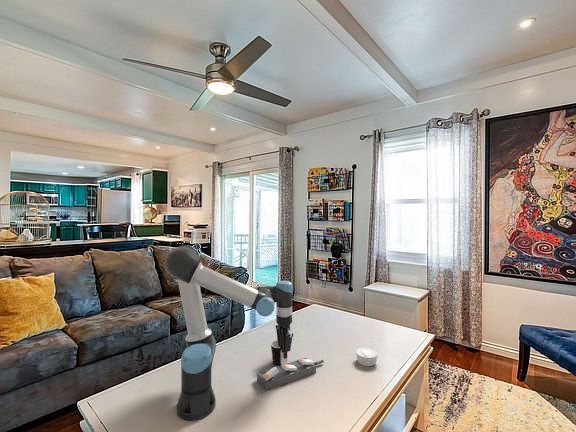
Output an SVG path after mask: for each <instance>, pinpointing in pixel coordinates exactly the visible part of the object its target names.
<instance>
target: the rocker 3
mask: <svg viewBox="0 0 576 432" xmlns="http://www.w3.org/2000/svg"><path fill="white" fill-rule="evenodd" d="M298 360H299V362H300V363H301V364H306V365H313V364H314V363H315V361H313V360H312V359H308V358H307V359H303V358H299V359H298Z"/></svg>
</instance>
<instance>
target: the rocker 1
mask: <svg viewBox="0 0 576 432" xmlns="http://www.w3.org/2000/svg"><path fill="white" fill-rule="evenodd" d="M276 367H277V366H274V367H272V368H270V369H271V370H269V371H268V372H266V373H265V374H263V378H264V379H265V380H266V381H267V380H268V379H270V378H271V377H273V376H274V375H276V374H277V373H279V370H278V369H277V368H276Z"/></svg>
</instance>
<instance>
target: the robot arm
mask: <svg viewBox="0 0 576 432" xmlns="http://www.w3.org/2000/svg"><path fill="white" fill-rule="evenodd" d="M200 260H201V258H200V253H199V251H198V250H197V249H196V248H195V247H193V246H192V245H187V244H186V245H181V246H178V247H176V248H175V249H174V250H171V251H170V252H169V253H168V254H167V255H166V256H165V260H164V268H165V270H166V272H167V273H168V274H169V275H170V276H171V277H172V278H173V280H174V281H175V282H176V283H177V284H178V289H179V293H180V294H179V295H180V299H181V304H182V310H183V316H184V319H185V324H186V325H185V326H186V330H187V334H186V336H185V338H184V339H185V345H186V348H185V349H184V351H183V352H182V355H181V357H180V358H181V359H180V366H181V368H180V369H181V370H180V371H181V372H180V373H181V375H180V376H181V377H180V379H181V381H180V382H181V384H180V385H181V386H180V387H181V391H180V393H179V397H178V400H177V402H176V403H177V404H176V415H177V416H178V417H179V418H180V419H182V420H184V421H198V420H201V419H204V418H205V417H208V416H209V415H210V414H211V413H212V412H213V411H214V410H215V408H216V403H217V402H216V399H217V398H216V395H215V392H214V389H213V387H212V386H213V385H212V368H213V367H212V366H213V362H214V358H215V353H216V350H217V349H216V348H217V342H216V339H215V337H214V335H213V331H212V329H211V328H209V327H208V323H207V318H206V313H205V308H204V301H203V297H202V292H201V287H202V288H205V289H206V290H209V291H211V292H213V293H215V294H218V295H220V296H223V297H225V298H227V299H229V300H232V301H235V302H236V303H239V304H241V305H243V306H245V307H248V308H250V309H252V310H254V311H256V312H257V314H258V315H259V316H261V317H263V318H264V317H269V316H271V315H272V314H273V312H275V313H276V316H275V319H276V320H275V321H276V325H275V324H274V327H275V330H276V337H277V338H276V339H277V340H276V341H278V347H280V350H281V365H285V364H287V363H288V352H290V351H291V349H292V342H293V337H294V333H293V332H292V331H291V325H292V323H293V283H292V282H291V281H289V280H278V281H276V284H275V285H274V286H267V285H266V286H254V287H253V286H252V287H251V286H250V285H249V286H248V285H246V284H245V283H242V282H239V281H238V280H236V279H234V278H231V277H229V276H227V275H225V274H222V273H220V272H218V271H215V270H213V269H211V268H209V267H207V266H204V265H203V263H202V262H201V261H200ZM275 303H276V304H275ZM275 305H276V306H275ZM275 307H276V308H275ZM275 309H276V311H275Z"/></svg>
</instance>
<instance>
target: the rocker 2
mask: <svg viewBox="0 0 576 432" xmlns="http://www.w3.org/2000/svg"><path fill="white" fill-rule="evenodd" d="M281 367H282V368H283V369H284V370H293V371H297V367H295V366H294V365H282V366H281Z"/></svg>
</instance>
